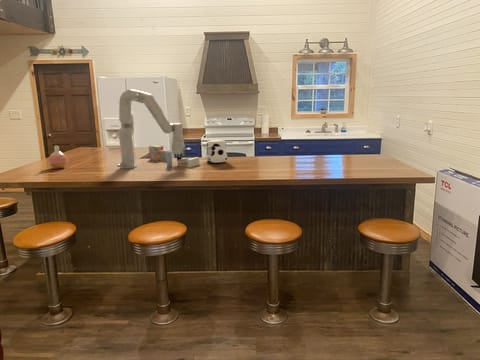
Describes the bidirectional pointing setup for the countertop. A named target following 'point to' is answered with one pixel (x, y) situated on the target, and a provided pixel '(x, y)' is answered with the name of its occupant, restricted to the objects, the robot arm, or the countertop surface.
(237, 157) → the countertop surface
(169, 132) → the robot arm
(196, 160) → the wall
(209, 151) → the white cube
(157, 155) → the stack of blocks
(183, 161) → the block
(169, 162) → the dowel
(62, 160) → the vase
